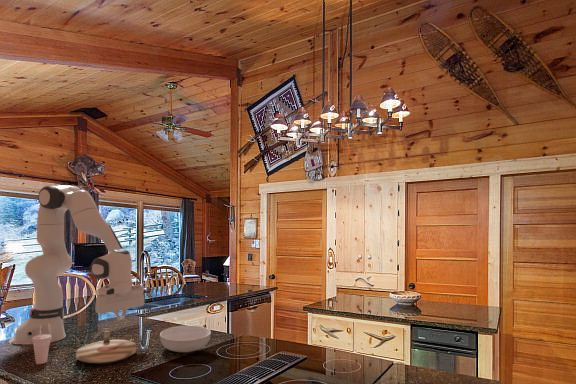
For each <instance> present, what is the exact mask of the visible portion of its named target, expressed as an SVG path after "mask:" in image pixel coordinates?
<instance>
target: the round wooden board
mask: <svg viewBox="0 0 576 384" xmlns="http://www.w3.org/2000/svg"><path fill="white" fill-rule="evenodd" d="M137 346H138V345H137V343H136V342H134V341H132V340H127V339H111V331H110V330H105V331H103V340H99V341H95V342H91V343H87V344H85V345H83V346H81V347H79V348H77V350H76V351H75V358H76V360H78V361H79V362H83V363H86V362H88V363H104V362H111V361H116V360H120V359H124V358H126V359H127V358H129V357H131V356H132V355H134V354H135V353H136V352H137V350H138V349H137ZM124 360H125V359H124ZM88 363H87V364H88Z"/></svg>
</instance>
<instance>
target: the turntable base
mask: <svg viewBox="0 0 576 384" xmlns="http://www.w3.org/2000/svg"><path fill="white" fill-rule="evenodd" d="M126 359H127V358H124V359H120V360H116V361H111V362H104V363H88V362H85V363H86V364H88V365H93V366H103V365H105V366H106V365H107V366H108V365H112V364H115V363H120V362H122V361H124V360H126Z"/></svg>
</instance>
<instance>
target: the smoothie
mask: <svg viewBox="0 0 576 384" xmlns="http://www.w3.org/2000/svg"><path fill="white" fill-rule="evenodd" d="M50 339H51V335H49V334H42V335H41V325H40V335H37V336H34V337H33V338H32V341H33V344H32V345H33V350H34V351H33V352H34V360H35V364H37V365H43V364H45V363H47V362H48V357H49V349H50V344H51V343H50Z"/></svg>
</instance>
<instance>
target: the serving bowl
mask: <svg viewBox="0 0 576 384" xmlns="http://www.w3.org/2000/svg"><path fill="white" fill-rule="evenodd" d="M211 333H212V331H211V330H210V329H209V328H207V327H204V326H201V325H200V326H198V325H178V326H173V327H168V328H165V329H163V330H162V331H161V332H160V333H159V340H160V342H161V344H162V346H163V347H164V348H166V349H167V350H169V351H172V352H175V353H176V352H177V353H191V352H194V351H198V350H200V349H202V348H204V347H205V346H206V345H207V344H208V343H209V341H210V339H211V335H212V334H211Z"/></svg>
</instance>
